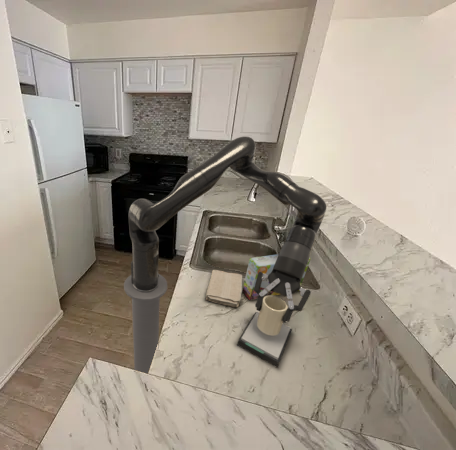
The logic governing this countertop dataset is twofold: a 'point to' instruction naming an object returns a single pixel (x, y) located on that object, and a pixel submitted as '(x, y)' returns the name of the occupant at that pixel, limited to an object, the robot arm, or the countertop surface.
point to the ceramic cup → (271, 315)
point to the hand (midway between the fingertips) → (270, 315)
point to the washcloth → (225, 288)
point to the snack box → (264, 266)
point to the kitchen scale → (264, 341)
